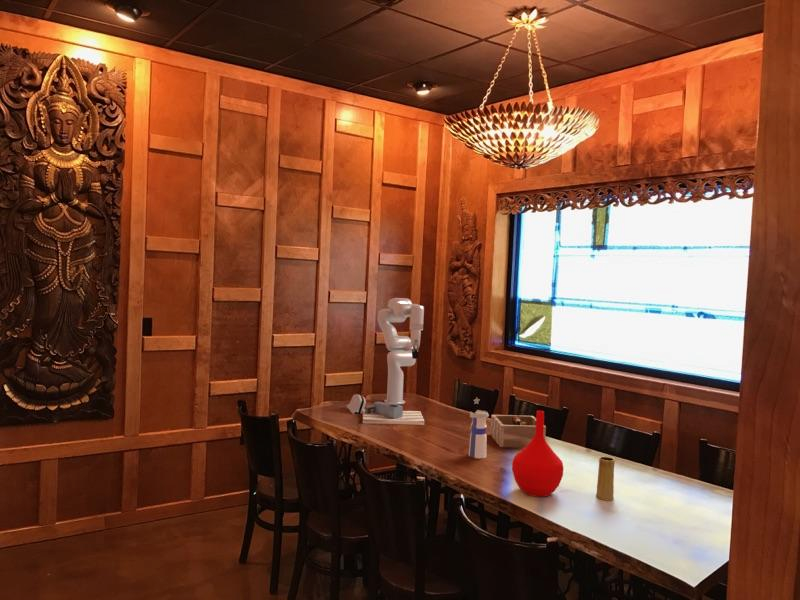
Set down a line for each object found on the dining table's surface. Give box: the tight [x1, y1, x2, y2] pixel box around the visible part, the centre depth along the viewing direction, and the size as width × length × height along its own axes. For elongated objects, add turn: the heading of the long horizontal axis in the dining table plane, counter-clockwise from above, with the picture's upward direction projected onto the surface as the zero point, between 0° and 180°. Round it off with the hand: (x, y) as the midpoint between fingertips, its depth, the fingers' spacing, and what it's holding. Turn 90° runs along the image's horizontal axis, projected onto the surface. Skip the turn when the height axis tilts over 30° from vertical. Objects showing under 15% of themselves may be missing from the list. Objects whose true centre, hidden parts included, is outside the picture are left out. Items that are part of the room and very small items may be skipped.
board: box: [362, 409, 425, 426], centre depth 331 cm, size 23×32×2 cm
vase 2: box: [595, 456, 615, 501], centre depth 222 cm, size 6×6×14 cm
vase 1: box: [511, 410, 564, 498], centre depth 225 cm, size 18×18×30 cm
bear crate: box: [489, 414, 547, 449], centre depth 295 cm, size 22×21×10 cm
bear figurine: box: [511, 415, 527, 425], centre depth 296 cm, size 14×15×12 cm
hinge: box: [346, 394, 367, 415], centre depth 348 cm, size 17×5×10 cm, turn 19°
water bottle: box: [468, 397, 490, 459], centre depth 268 cm, size 8×9×25 cm
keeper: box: [364, 404, 374, 414], centre depth 336 cm, size 4×9×5 cm, turn 138°
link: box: [370, 401, 404, 419], centre depth 331 cm, size 20×7×6 cm, turn 48°
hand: (414, 357), depth 347 cm, fingers open, 9 cm apart
